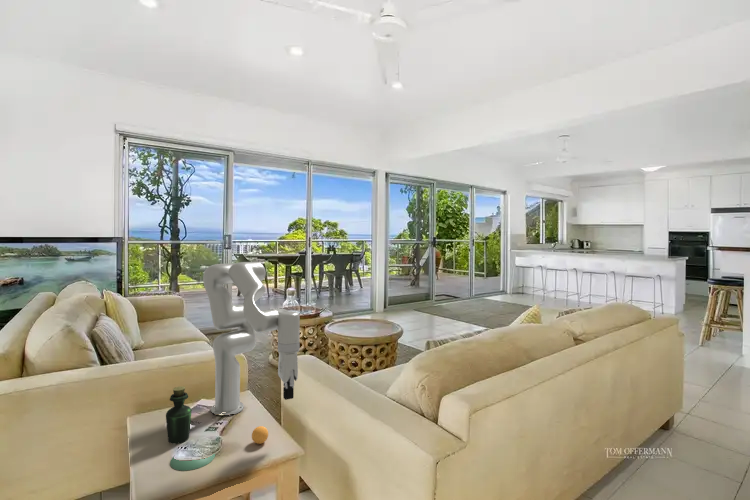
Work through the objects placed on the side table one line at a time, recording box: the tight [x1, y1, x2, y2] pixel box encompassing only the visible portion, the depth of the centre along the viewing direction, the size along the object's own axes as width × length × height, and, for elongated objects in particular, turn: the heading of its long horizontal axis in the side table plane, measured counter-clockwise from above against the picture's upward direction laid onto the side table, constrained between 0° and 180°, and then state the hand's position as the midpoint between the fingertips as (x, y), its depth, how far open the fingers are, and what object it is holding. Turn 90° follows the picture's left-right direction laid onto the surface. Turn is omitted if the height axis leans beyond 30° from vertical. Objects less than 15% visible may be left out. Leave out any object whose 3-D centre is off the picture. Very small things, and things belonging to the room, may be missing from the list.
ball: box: [251, 425, 269, 445], centre depth 135 cm, size 6×6×6 cm
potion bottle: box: [165, 385, 193, 445], centre depth 136 cm, size 8×8×18 cm
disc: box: [169, 453, 216, 472], centre depth 125 cm, size 13×13×1 cm
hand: (288, 398), depth 139 cm, fingers closed
